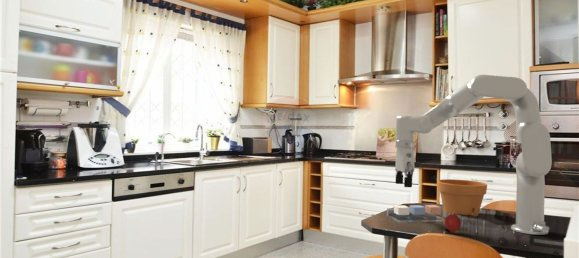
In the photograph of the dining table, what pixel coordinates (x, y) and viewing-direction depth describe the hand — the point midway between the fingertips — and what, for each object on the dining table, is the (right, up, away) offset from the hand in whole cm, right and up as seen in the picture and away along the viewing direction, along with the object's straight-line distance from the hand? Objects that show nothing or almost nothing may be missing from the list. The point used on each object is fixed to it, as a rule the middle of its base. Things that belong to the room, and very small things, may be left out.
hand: (403, 185), depth 181 cm
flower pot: (+31, -16, +16) cm, 38 cm away
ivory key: (-1, -12, -1) cm, 12 cm away
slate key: (+6, -12, 0) cm, 13 cm away
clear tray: (+6, -15, 0) cm, 16 cm away
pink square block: (+13, -12, +1) cm, 18 cm away
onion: (+14, -16, -19) cm, 28 cm away
